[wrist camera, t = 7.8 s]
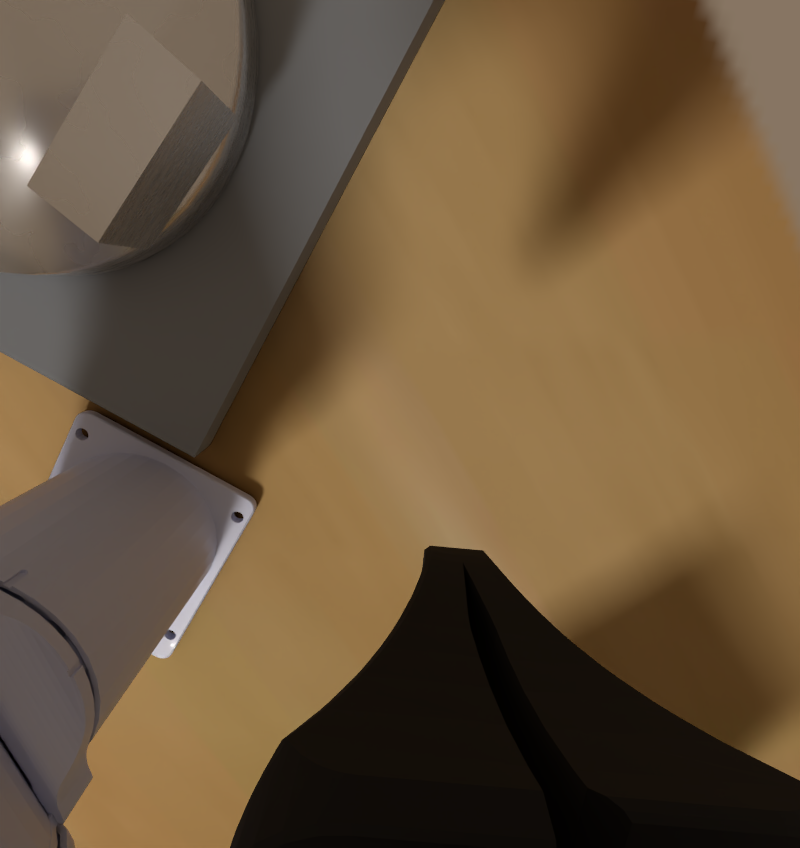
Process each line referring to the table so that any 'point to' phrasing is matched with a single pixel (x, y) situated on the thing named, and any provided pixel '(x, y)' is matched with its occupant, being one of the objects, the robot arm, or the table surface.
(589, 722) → the robot arm
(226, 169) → the silver lugged disc
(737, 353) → the table surface
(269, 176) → the slate plate
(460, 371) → the table surface
